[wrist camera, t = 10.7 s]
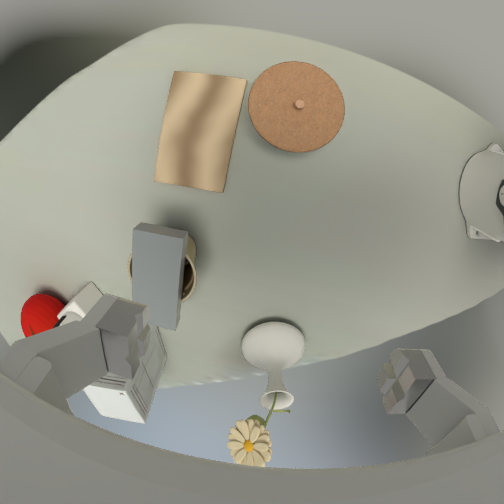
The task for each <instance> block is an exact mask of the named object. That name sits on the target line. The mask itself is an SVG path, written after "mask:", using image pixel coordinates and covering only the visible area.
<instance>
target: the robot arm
mask: <svg viewBox="0 0 504 504" xmlns="http://www.w3.org/2000/svg"><path fill="white" fill-rule="evenodd" d="M460 205H461V209H462V213H463V215H464V217H465V220H466V227H467V235H468V236H469V237H470V238H474V239H487V240H495V241H496V242H500V241H503V242H504V151H503V150H502V149H501V148H500V146H499V145H498V144H495V143H491V144H490V145H489V147H488V148H487V149H486V150H484V151H481V152H479V153H477V154H475V155H474V156H473V157H472V158H471V159H470V160H469V161H468V163H467V165H466V167H465V169H464V171H463V174H462V178H461V182H460ZM476 231H477V232H476ZM149 319H150V307H149V306H147V305H144V304H140V303H137V302H134V301H130V300H127V299H124V298H120V297H117V296H114V295H110V294H104V295H103V296H102V297H101V298H100V299H99V300H98V301H97V303H96V304H95V305H94V306H93V307H92V308H91V309H90V311H89V312H88V313H87V314H86V315H85V316H84V318H83V319H82V320H81V321H77V320H75V321H73V322H70V323H67V324H64V325H61V326H58V327H56V328H53V329H50V330H47V331H44V332H41V333H38V334H35V335H33V336H30V337H27V338H24V339H21V340H18V341H15V343H14V344H13V345H12V346H11V347H10V348H9V350H7V352H6V353H5V354H4V355H3V356H2V357H1V359H0V504H504V430H503V431H501V432H500V430H499V428H498V426H497V424H496V422H495V420H494V418H493V416H492V414H491V412H490V410H489V409H488V408H487V407H485V406H484V405H483V404H482V403H480V402H479V401H477V400H476V399H475V398H474V397H473V396H471V395H470V394H469V393H467V392H466V391H465V390H464V389H462V388H461V387H460V386H458V385H457V384H456V383H454V382H453V381H452V380H451V379H447V378H446V376H445V374H444V373H443V371H442V369H441V367H440V366H439V364H438V362H437V360H436V359H435V357H434V355H433V354H432V352H431V351H429V350H428V349H417V350H415V349H397V348H396V349H394V350H393V351H392V353H391V354H390V356H389V362H388V363H386V364H385V365H384V366H383V367H382V368H381V370H380V372H379V375H378V379H377V381H378V382H377V383H378V388H379V391H380V392H382V393H383V394H384V398H383V403H384V406H385V409H386V411H387V414H405V413H406V416H407V417H408V418H409V419H410V420H411V421H412V423H413V424H414V425H415V426H416V427H417V428H418V429H419V431H420V432H421V433H422V434H423V435H424V436H425V438H426V439H427V440H428V441H429V442H430V443H431V445H432V446H433V448H432V449H431V450H429V451H428V452H427V453H426V455H425V456H424V457H419V458H415V459H410V460H404V461H399V462H392V463H386V464H379V465H371V466H362V467H349V468H332V469H289V468H271V467H259V466H249V465H240V464H233V463H226V462H220V461H214V460H209V459H203V458H198V457H194V456H189V455H185V454H180V453H176V452H172V451H169V450H165V449H161V448H158V447H154V446H151V445H148V444H144V443H141V442H138V441H135V440H132V439H129V438H126V437H124V436H121V435H118V434H115V433H113V432H110V431H108V430H105V429H103V428H100V427H98V426H95V425H93V424H90V423H88V422H86V421H84V420H82V419H80V418H77V417H75V416H74V414H73V411H72V409H71V407H70V406H69V403H68V401H67V398H69V397H71V396H72V395H74V394H75V393H77V392H79V391H80V390H82V389H84V388H85V387H87V386H88V385H90V384H92V383H93V382H95V381H97V380H98V379H100V378H101V377H103V376H105V375H106V374H108V372H110V373H113V374H116V375H119V376H122V377H125V378H128V379H132V380H133V378H134V376H135V374H136V372H137V370H138V368H139V366H140V361H139V358H140V357H142V356H144V355H145V353H146V351H147V349H148V345H149V342H150V335H151V328H150V326H149V325H148V323H147V322H148V320H149Z"/></svg>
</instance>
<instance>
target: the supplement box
mask: <svg viewBox="0 0 504 504" xmlns="http://www.w3.org/2000/svg"><path fill="white" fill-rule="evenodd" d="M148 325H149V324H148ZM149 326H150V328H151V335H150V342H149V345H148V349H147V351H146V353H145V355H144V356H142V357H140V358H139V361H140V366H139V368H138V370H137V372H136V374H135V376H134V378H133V380H132V379H128V378H125V377H122V376H119V375H116V374H113V373H110V372H108V374H106V375H105V376H103V377H101V378H100V379H98V380H97V381H95V382H93V383H92V384H90V385H88V386H87V387H85V388H84V389H83V390H84V391H85V393H86V394H87V396H88V397H89V398H90V400H91V401H92V403H93V404H94V406H95V407H96V408H97V410H98V411H99V412H100V413H101V415H103V416H107V417H112V418H117V419H122V420H127V421H132V422H139V423H146V420H147V417H148V414H149V411H150V407H151V404H152V401H153V398H154V394H155V391H156V388H157V385H158V383H159V380H160V377H161V374H162V371H163V368H164V365H165V362H166V359H167V355H166V352H165V349H164V346H163V343H162V340H161V337H160V334H159V331H158V328H157V326H153V325H149Z"/></svg>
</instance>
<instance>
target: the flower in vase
mask: <svg viewBox="0 0 504 504" xmlns="http://www.w3.org/2000/svg"><path fill="white" fill-rule="evenodd" d="M304 349H305V338H304V336H303V334H302V333H301V332H300V331H299V330H298V329H297V328H296V327H294V326H292V325H290V324H287V323H283V322H266V323H262V324H260V325H257V326H255V327H254V328H252V329H251V330H249V331H248V332H247V333H246V334H245V336H244V337H243V339H242V342H241V350H242V353H243V355H244V357H245V359H246V360H247V361H248V362H249V363H250V364H251V365H253V366H255V367H257V368H259V369H262V370H266V371H268V385H267V389H266V391H265V393H264V394H263V395H262V396H261V397H260V399H259V402H260V404H261V406H263V407H264V408H267V409H271V410H270V412H269V414H268V417H267V419H266V421H264V420H263V419H262V418H261V417H259V416H257V415H252V416H251V417H249V418H248V419H247V420H241V421H239V420H238V421H236V429H235V428H233V427H231V428H230V432H231V434H229V435H228V438H229V439H230V442H228V443H227V446H228V448H230V449H231V450H230V454H231V455H232V456H233V458H234V462H235V463H238V464H241V465H249V466H259V467H265V461H267V462H268V461H270V458H271V454H272V449H271V448H270V446H271V445H272V443H271V441H270V438H269V435H270V434H269V431H268V430H265V427H266V425H267V422H268V420H269V418H270V415H271V413H272V411H273V412H289V413H290V410H278V409H283V408H286V407H288V406H290V405H291V404H292V403H293V401H294V397H293V396H292V394H291V393H289V392H288V391H287V390H286V388H285V386H284V383H283V379H282V370H283V369H286V368H288V367H290V366H291V365H293V364H294V363H296V362H297V361H298V360H299V359H300V358H301V356H302V355H303V352H304ZM263 425H264V426H263Z"/></svg>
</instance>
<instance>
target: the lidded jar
mask: <svg viewBox="0 0 504 504" xmlns="http://www.w3.org/2000/svg"><path fill="white" fill-rule="evenodd" d="M248 109H249V115H250V118H251V121H252V123H253V125H254V127H255V129H256V130H257V132H258V133H259V134H260V135H261V136H262V137H263V138H264V139H265V140H266V141H267V142H269V143H270V144H271V145H273V146H275V147H277V148H279V149H282V150H285V151H290V152H309V151H313V150H316V149H318V148H321V147H323V146H324V145H326V144H327V143H329V142H330V141H331V140H332V139H333V138H334V137H335V136H336V134H337V133H338V131H339V130H340V128H341V126H342V123H343V120H344V114H345V105H344V99H343V96H342V93H341V91H340V89H339V87H338V85H337V84H336V82H335V81H334V80H333V79H332V78H331V77H330V76H329V75H328V74H327V73H326V72H324V71H323V70H322V69H320V68H318V67H316V66H314V65H311V64H308V63H304V62H296V61H292V62H284V63H279V64H277V65H274V66H272V67H270V68H269V69H267V70H265V71H264V72H263V73H262V74H261V75H260V76H259V77H258V78H257V79H256V81H255V82H254V84H253V86H252V88H251V91H250V94H249V100H248Z"/></svg>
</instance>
